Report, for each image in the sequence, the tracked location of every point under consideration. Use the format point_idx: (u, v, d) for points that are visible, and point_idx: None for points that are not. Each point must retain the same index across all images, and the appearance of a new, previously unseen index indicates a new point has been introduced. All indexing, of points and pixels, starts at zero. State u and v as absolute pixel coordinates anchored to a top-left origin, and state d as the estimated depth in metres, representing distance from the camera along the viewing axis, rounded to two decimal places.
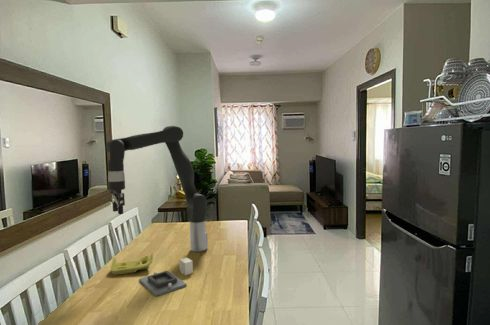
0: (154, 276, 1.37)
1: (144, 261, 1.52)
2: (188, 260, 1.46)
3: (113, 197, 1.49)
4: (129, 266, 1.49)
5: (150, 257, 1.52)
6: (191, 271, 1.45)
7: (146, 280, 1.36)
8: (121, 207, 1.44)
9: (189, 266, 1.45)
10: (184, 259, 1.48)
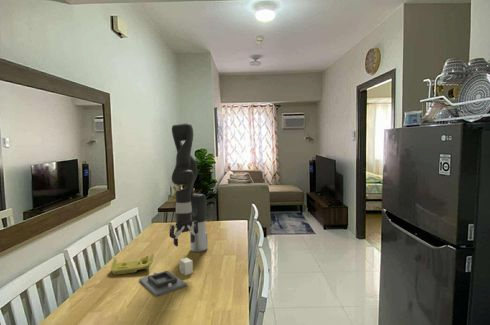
0: (154, 276, 1.37)
1: (144, 261, 1.52)
2: (188, 260, 1.46)
3: (182, 229, 1.44)
4: (129, 266, 1.49)
5: (150, 257, 1.52)
6: (191, 271, 1.45)
7: (146, 280, 1.36)
8: None
9: (189, 266, 1.45)
10: (184, 259, 1.48)
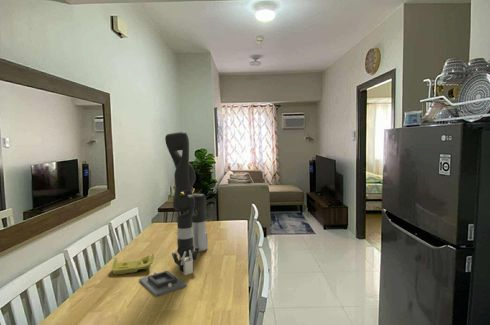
0: (154, 276, 1.37)
1: (145, 261, 1.52)
2: (188, 260, 1.46)
3: (185, 254, 1.45)
4: (130, 266, 1.50)
5: (151, 257, 1.52)
6: (191, 271, 1.45)
7: (146, 280, 1.36)
8: None
9: (189, 265, 1.45)
10: None
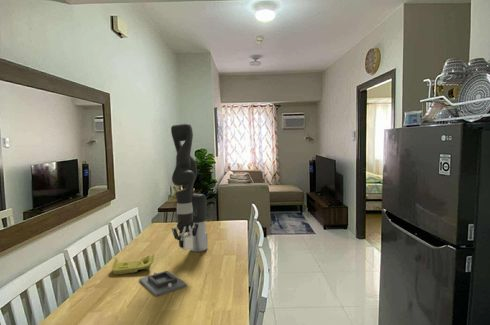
0: (154, 276, 1.37)
1: (145, 261, 1.52)
2: (188, 235, 1.45)
3: (184, 230, 1.44)
4: (130, 266, 1.49)
5: (151, 257, 1.52)
6: (191, 246, 1.45)
7: (146, 280, 1.36)
8: None
9: (189, 241, 1.44)
10: None
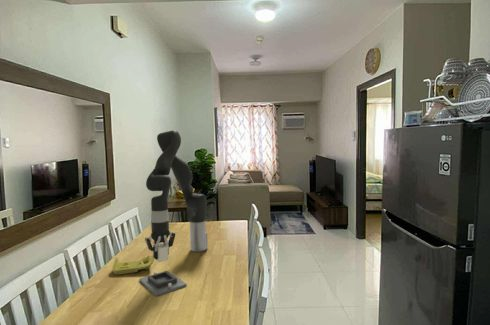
0: (154, 276, 1.37)
1: (146, 261, 1.52)
2: (163, 246, 1.33)
3: (159, 240, 1.32)
4: (131, 266, 1.49)
5: (152, 257, 1.52)
6: (166, 258, 1.33)
7: (146, 280, 1.36)
8: None
9: (164, 252, 1.32)
10: (159, 245, 1.35)
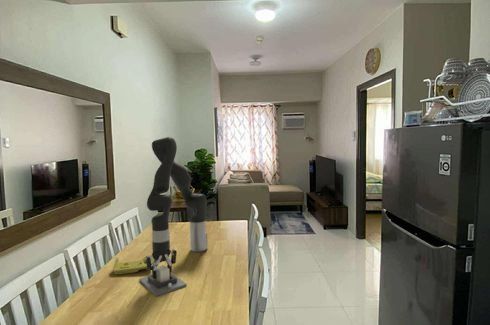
0: None
1: None
2: (165, 268, 1.34)
3: (160, 259, 1.32)
4: (131, 266, 1.50)
5: None
6: None
7: (146, 280, 1.36)
8: None
9: (166, 274, 1.33)
10: (160, 266, 1.36)
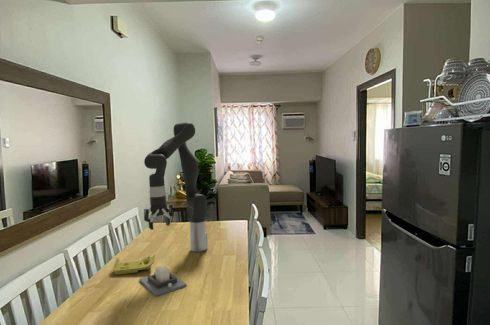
0: (154, 276, 1.37)
1: (146, 262, 1.51)
2: (165, 268, 1.34)
3: (157, 213, 1.46)
4: (131, 266, 1.49)
5: (152, 258, 1.51)
6: None
7: (146, 280, 1.36)
8: None
9: (166, 274, 1.33)
10: (160, 266, 1.36)
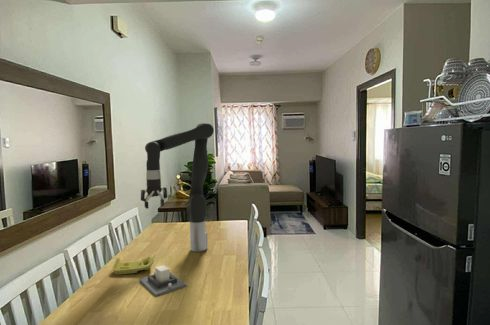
0: (154, 276, 1.37)
1: (146, 262, 1.51)
2: (165, 268, 1.34)
3: None
4: (131, 266, 1.49)
5: (152, 258, 1.50)
6: None
7: (146, 280, 1.36)
8: None
9: (166, 274, 1.33)
10: (160, 266, 1.36)
